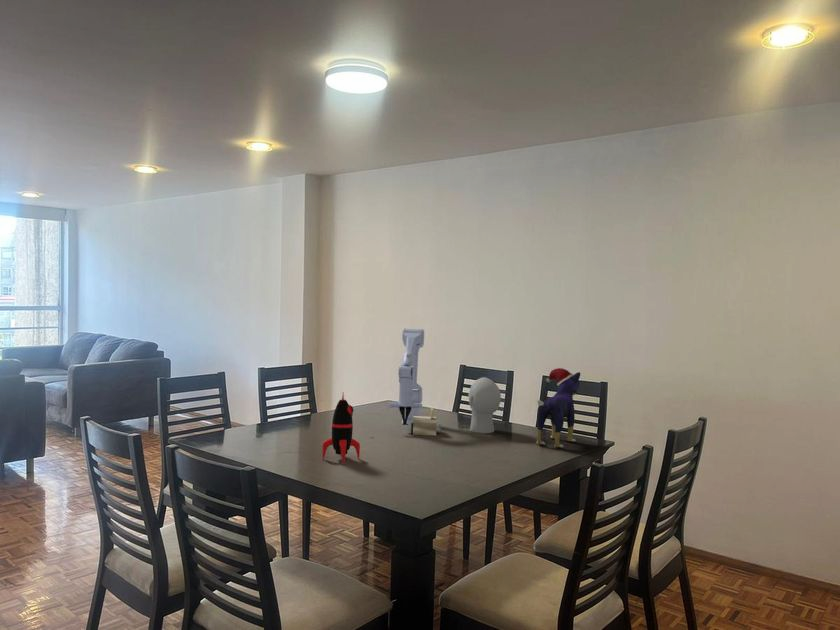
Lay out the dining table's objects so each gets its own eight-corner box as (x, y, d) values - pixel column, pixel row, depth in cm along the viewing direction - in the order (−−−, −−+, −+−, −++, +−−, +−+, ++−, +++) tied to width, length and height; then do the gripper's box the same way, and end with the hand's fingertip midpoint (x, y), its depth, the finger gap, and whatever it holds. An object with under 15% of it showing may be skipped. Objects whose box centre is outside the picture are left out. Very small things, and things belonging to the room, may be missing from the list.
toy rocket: (342, 464, 216) (344, 392, 215) (320, 459, 222) (322, 389, 221) (361, 459, 224) (363, 389, 224) (339, 454, 230) (341, 386, 229)
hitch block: (412, 429, 277) (413, 415, 276) (435, 430, 277) (435, 416, 277) (412, 434, 267) (413, 420, 266) (436, 435, 267) (436, 421, 267)
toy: (585, 437, 272) (587, 369, 271) (550, 455, 239) (553, 377, 238) (550, 432, 281) (552, 365, 280) (512, 448, 248) (515, 373, 247)
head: (488, 420, 293) (495, 371, 285) (500, 439, 277) (507, 388, 269) (458, 420, 290) (465, 371, 282) (469, 440, 273) (476, 388, 266)
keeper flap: (430, 416, 275) (430, 407, 275) (432, 416, 275) (432, 407, 275) (430, 419, 268) (431, 410, 268) (433, 419, 268) (433, 410, 268)
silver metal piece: (407, 430, 275) (408, 417, 275) (440, 431, 275) (440, 418, 275) (407, 433, 268) (408, 420, 268) (441, 434, 268) (441, 421, 268)
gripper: (388, 394, 267) (387, 425, 267) (422, 395, 267) (421, 426, 267) (389, 391, 274) (388, 422, 274) (422, 392, 274) (421, 423, 275)
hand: (404, 424), depth 271 cm, fingers closed
